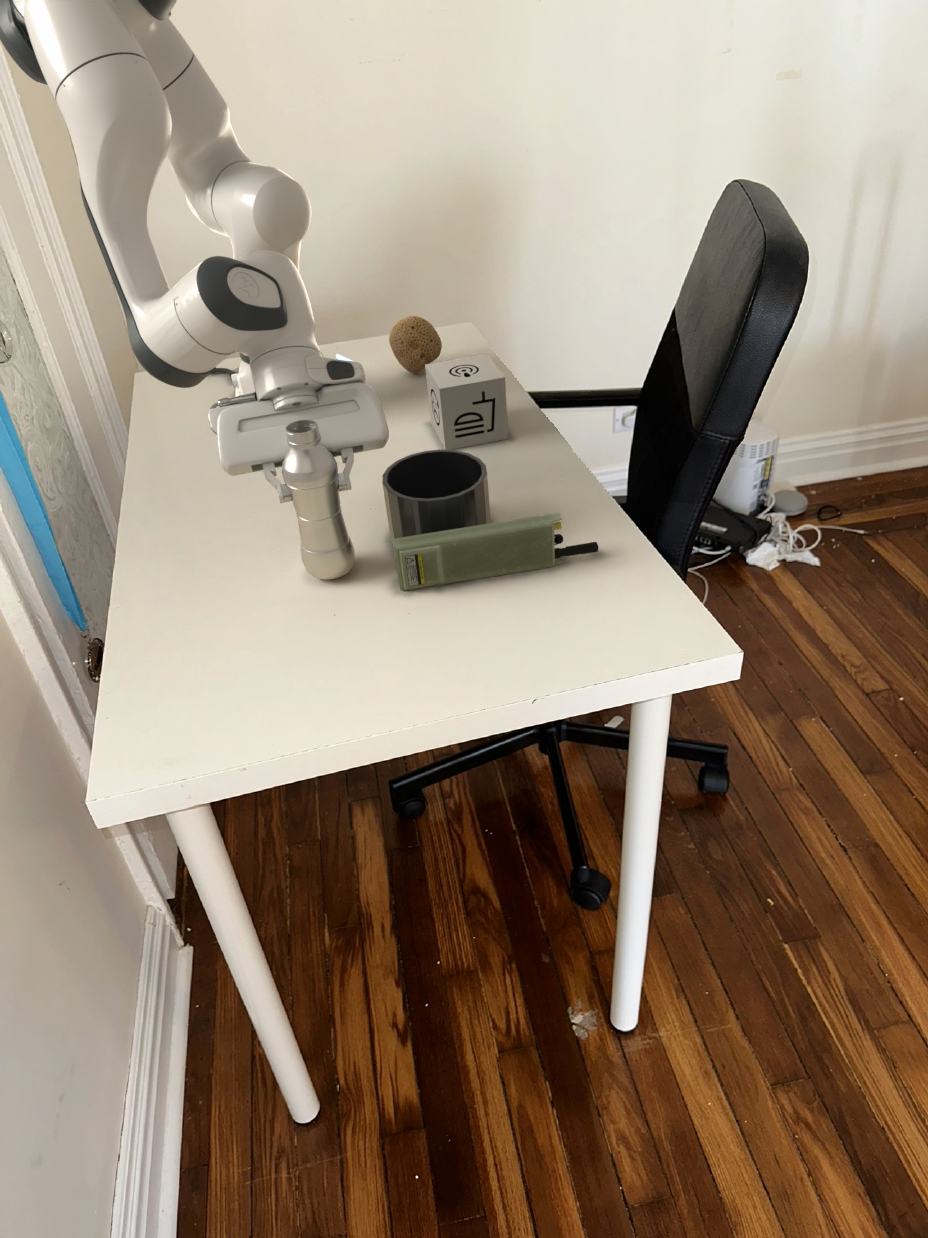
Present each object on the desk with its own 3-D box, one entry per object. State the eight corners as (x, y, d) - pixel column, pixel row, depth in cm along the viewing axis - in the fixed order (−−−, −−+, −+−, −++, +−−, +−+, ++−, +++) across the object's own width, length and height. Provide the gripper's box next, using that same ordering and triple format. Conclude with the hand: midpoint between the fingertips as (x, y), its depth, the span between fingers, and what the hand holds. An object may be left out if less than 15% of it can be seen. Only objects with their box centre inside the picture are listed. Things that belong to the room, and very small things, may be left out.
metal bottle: (349, 587, 113) (320, 439, 101) (297, 584, 114) (263, 438, 102) (364, 558, 118) (338, 414, 106) (314, 555, 119) (283, 413, 107)
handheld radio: (398, 579, 114) (593, 547, 116) (401, 595, 111) (601, 562, 113) (391, 534, 109) (594, 502, 112) (394, 550, 107) (602, 517, 109)
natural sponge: (432, 358, 170) (426, 304, 164) (452, 373, 163) (447, 318, 157) (386, 369, 167) (379, 315, 161) (405, 386, 161) (398, 330, 155)
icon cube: (508, 438, 142) (505, 377, 136) (445, 450, 140) (439, 388, 134) (491, 412, 149) (487, 353, 143) (431, 423, 148) (425, 364, 142)
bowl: (378, 523, 125) (369, 464, 119) (469, 499, 128) (464, 441, 122) (409, 572, 115) (401, 510, 109) (506, 545, 118) (503, 483, 112)
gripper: (200, 390, 106) (224, 504, 104) (374, 360, 109) (400, 470, 107) (209, 411, 112) (231, 519, 110) (373, 382, 115) (397, 486, 113)
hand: (316, 495), depth 109 cm, fingers closed on metal bottle, 6 cm apart
